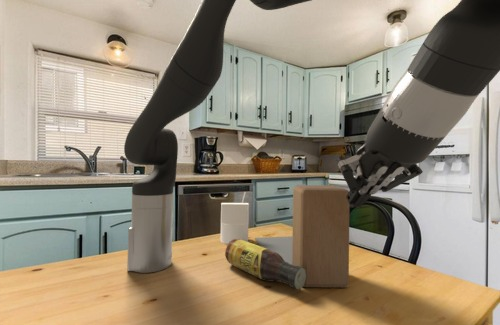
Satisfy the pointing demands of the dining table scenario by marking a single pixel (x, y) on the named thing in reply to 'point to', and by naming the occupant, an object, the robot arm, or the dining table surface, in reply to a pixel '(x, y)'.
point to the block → (321, 234)
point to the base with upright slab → (234, 221)
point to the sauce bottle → (264, 263)
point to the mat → (278, 246)
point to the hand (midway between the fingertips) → (352, 202)
